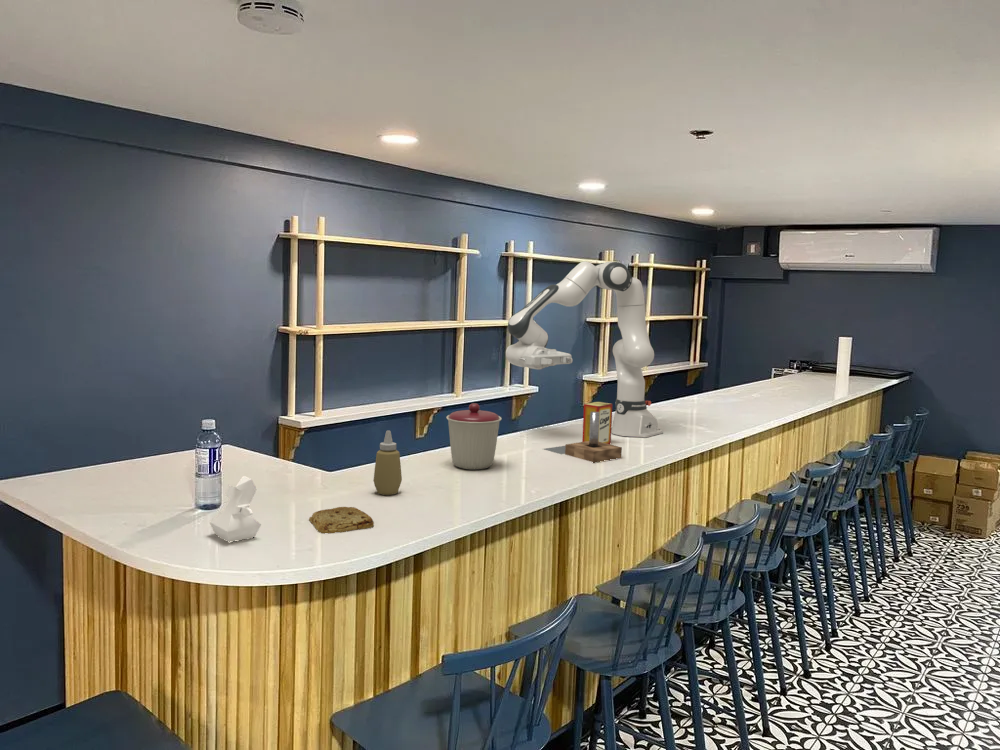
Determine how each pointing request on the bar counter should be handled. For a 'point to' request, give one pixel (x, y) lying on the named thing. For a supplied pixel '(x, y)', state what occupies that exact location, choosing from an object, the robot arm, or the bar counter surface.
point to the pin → (594, 429)
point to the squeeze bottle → (387, 467)
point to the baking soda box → (604, 421)
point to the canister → (473, 437)
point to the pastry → (340, 520)
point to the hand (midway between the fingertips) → (561, 361)
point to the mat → (557, 449)
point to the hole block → (593, 451)
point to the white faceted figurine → (237, 513)
